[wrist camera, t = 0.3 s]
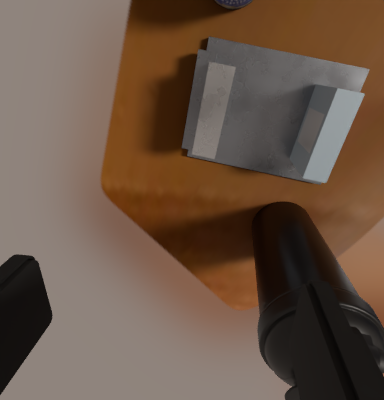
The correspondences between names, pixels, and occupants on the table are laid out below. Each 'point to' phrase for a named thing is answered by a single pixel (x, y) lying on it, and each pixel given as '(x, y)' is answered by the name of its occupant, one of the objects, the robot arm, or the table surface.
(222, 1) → the pill bottle
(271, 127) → the vise base
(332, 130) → the sliding jaw
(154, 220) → the table surface
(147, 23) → the table surface
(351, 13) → the table surface
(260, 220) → the water bottle
